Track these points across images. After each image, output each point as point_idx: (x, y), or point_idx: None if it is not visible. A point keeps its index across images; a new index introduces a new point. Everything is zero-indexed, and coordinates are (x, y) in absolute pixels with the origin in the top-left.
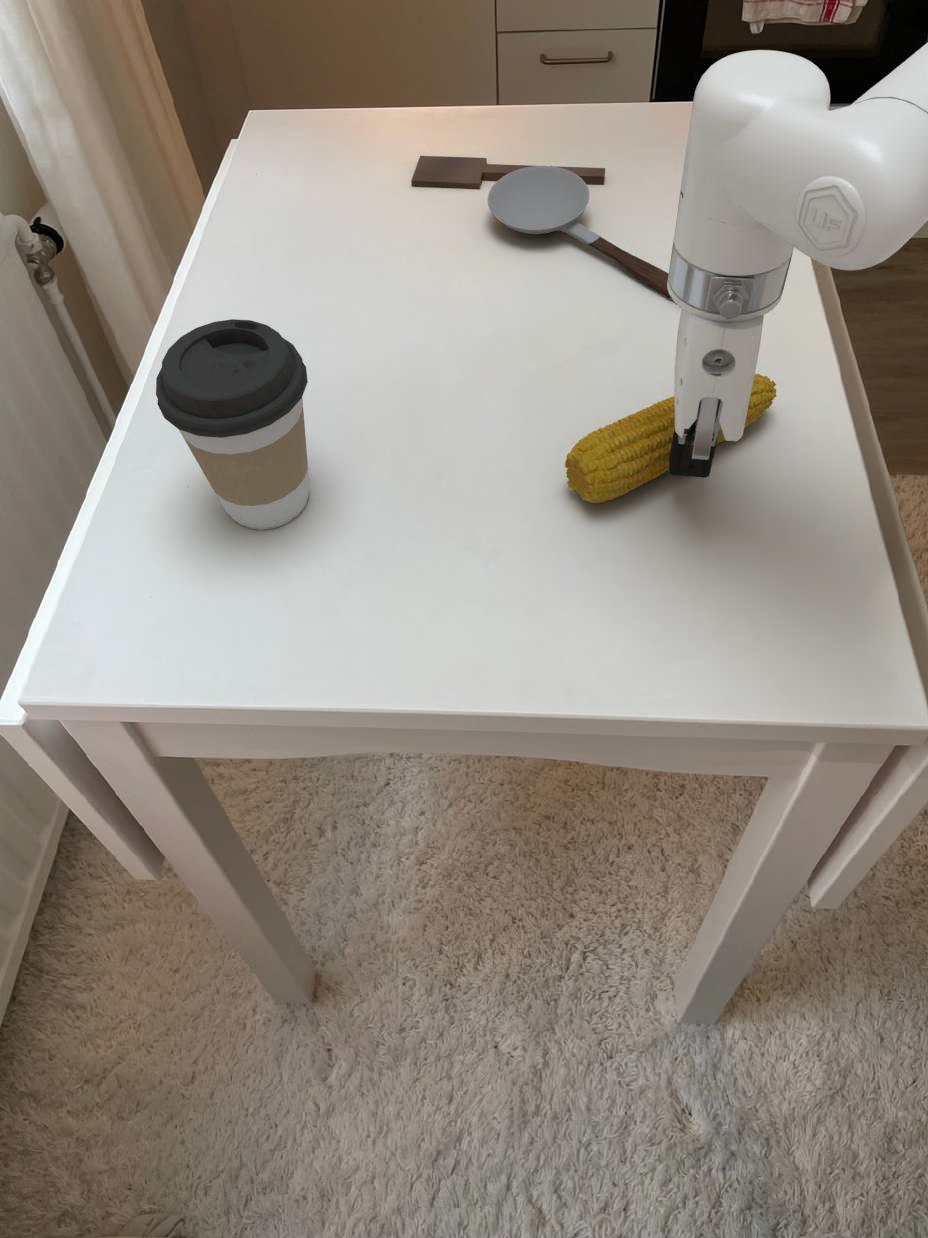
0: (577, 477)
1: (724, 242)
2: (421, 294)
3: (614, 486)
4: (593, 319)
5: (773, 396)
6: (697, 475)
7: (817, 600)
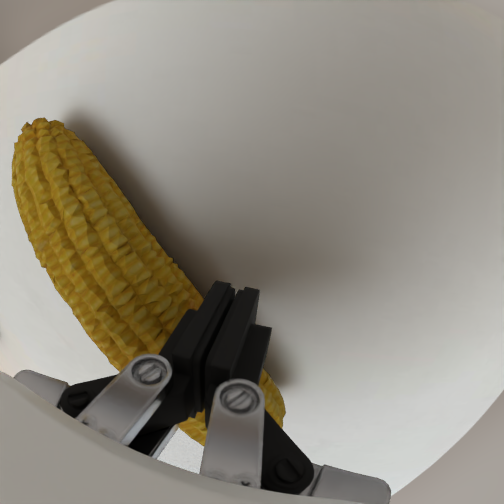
0: None
1: None
2: None
3: (277, 412)
4: (17, 300)
5: (44, 124)
6: (256, 308)
7: (494, 112)
